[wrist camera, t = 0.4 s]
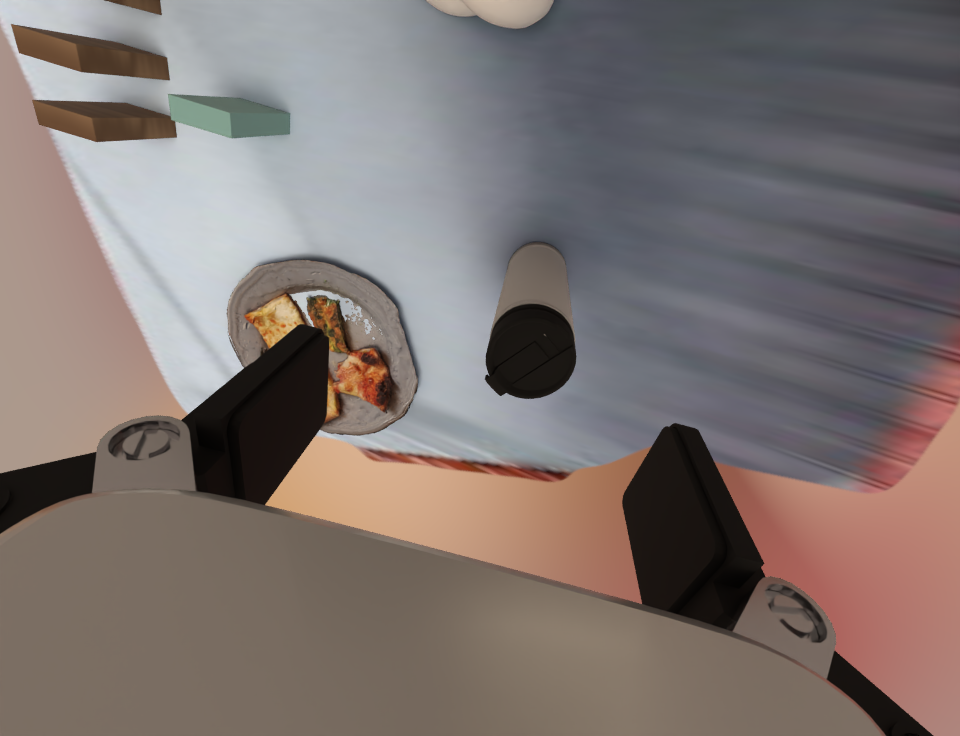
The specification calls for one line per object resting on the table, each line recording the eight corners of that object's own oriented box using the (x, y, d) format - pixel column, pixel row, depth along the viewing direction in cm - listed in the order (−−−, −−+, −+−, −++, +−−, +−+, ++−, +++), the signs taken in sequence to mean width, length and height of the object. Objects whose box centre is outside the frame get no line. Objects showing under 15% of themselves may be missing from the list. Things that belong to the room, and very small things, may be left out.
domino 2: (126, 102, 42) (32, 100, 34) (174, 117, 42) (91, 117, 34) (129, 123, 43) (39, 124, 35) (176, 137, 43) (96, 141, 35)
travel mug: (493, 267, 45) (461, 358, 28) (543, 228, 43) (540, 304, 26) (528, 310, 47) (517, 418, 30) (577, 275, 45) (596, 374, 28)
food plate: (436, 423, 58) (430, 439, 55) (290, 431, 63) (276, 446, 60) (385, 241, 46) (374, 249, 43) (211, 269, 51) (189, 277, 48)
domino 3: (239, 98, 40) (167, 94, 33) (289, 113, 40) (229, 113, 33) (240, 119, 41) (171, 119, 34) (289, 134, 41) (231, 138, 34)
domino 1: (115, 41, 39) (11, 24, 32) (166, 57, 39) (75, 43, 32) (119, 64, 40) (19, 52, 33) (169, 80, 40) (81, 72, 33)
